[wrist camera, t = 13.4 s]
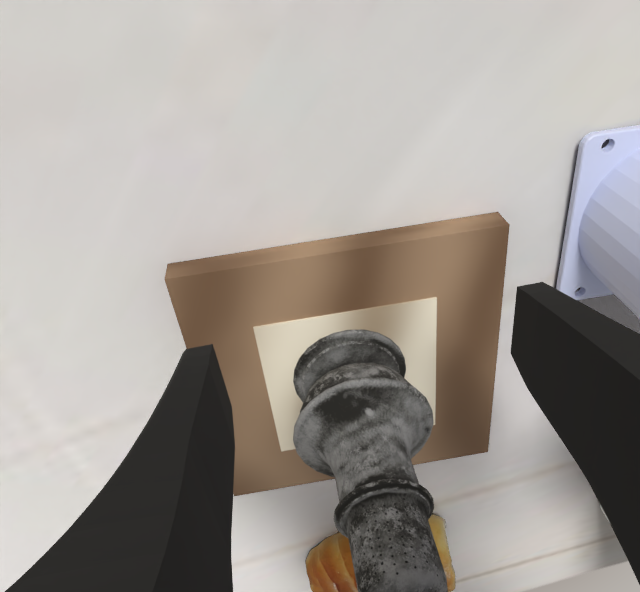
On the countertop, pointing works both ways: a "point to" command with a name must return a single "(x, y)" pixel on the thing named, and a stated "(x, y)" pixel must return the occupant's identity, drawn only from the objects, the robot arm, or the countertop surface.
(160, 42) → the countertop surface
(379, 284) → the walnut board
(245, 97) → the countertop surface
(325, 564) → the pastry
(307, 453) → the salt shaker
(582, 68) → the countertop surface
